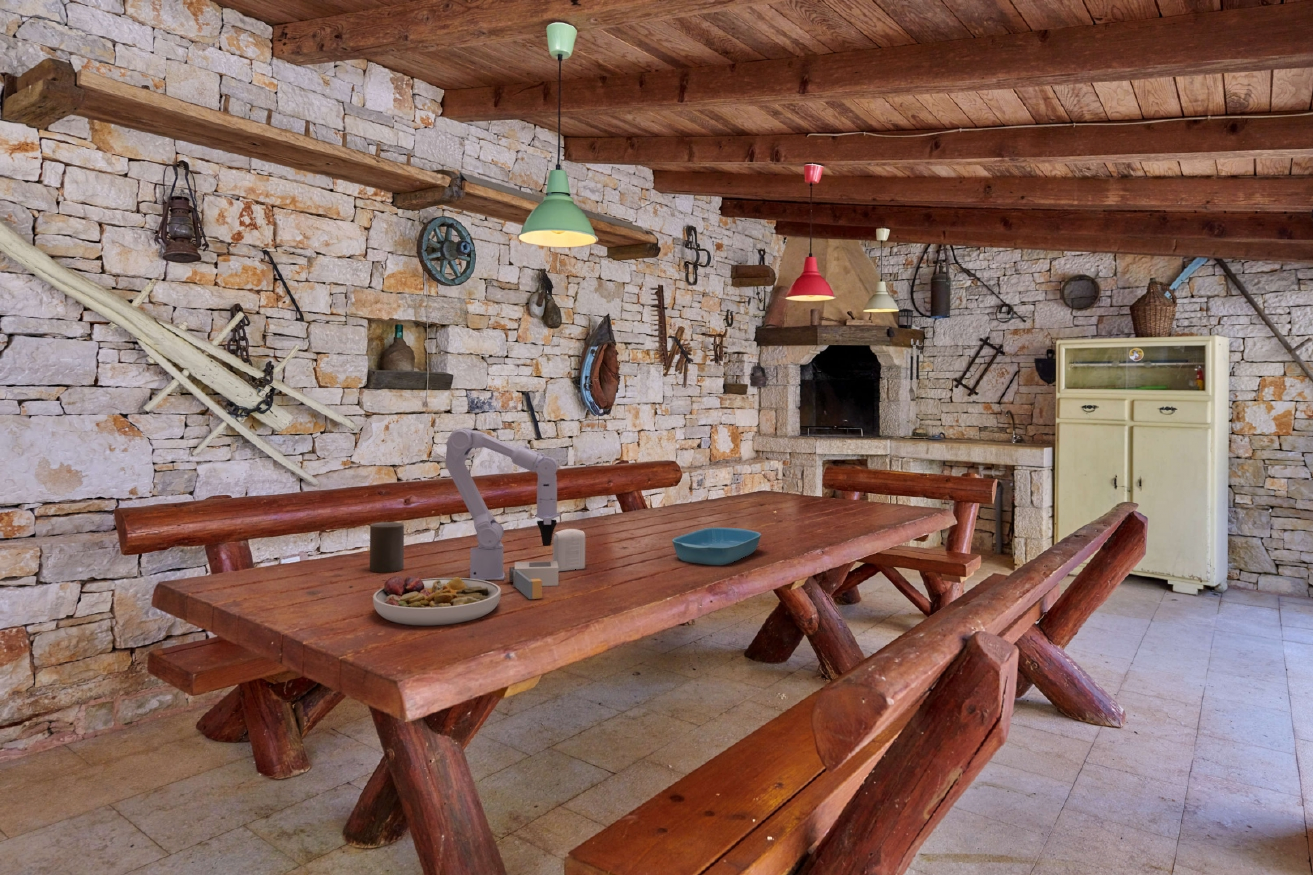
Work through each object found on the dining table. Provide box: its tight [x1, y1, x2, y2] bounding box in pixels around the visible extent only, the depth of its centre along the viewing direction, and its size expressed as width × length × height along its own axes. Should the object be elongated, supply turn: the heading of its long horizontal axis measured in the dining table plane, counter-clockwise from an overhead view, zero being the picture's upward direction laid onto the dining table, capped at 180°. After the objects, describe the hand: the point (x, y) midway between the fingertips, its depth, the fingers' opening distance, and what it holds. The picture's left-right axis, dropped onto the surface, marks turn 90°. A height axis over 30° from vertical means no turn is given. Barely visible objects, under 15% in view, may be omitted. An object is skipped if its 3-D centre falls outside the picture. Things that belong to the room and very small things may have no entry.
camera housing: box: [508, 560, 559, 587], centre depth 223 cm, size 14×9×5 cm, turn 99°
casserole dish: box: [671, 526, 762, 566], centre depth 263 cm, size 37×22×7 cm, turn 150°
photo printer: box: [552, 528, 586, 572], centre depth 240 cm, size 10×4×12 cm, turn 123°
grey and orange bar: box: [512, 570, 543, 600], centre depth 211 cm, size 15×4×5 cm, turn 25°
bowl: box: [372, 575, 502, 627], centre depth 193 cm, size 30×30×8 cm
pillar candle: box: [369, 519, 405, 574], centre depth 237 cm, size 10×10×15 cm
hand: (546, 545), depth 228 cm, fingers closed
